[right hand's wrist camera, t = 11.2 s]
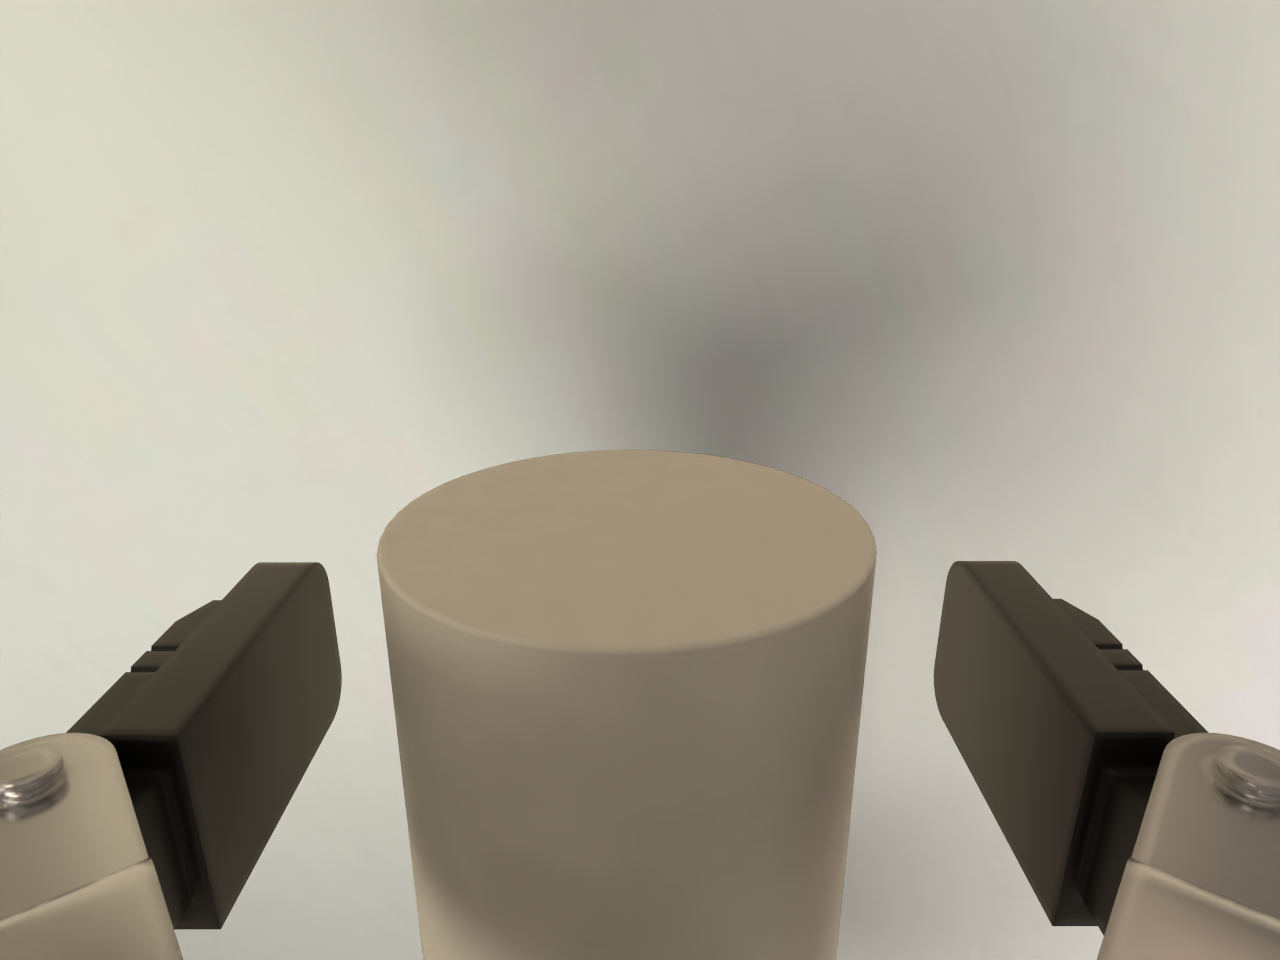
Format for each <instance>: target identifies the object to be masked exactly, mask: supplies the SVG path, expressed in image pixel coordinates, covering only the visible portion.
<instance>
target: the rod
mask: <svg viewBox="0 0 1280 960" xmlns="http://www.w3.org/2000/svg"><path fill="white" fill-rule="evenodd" d="M377 562H378V571H379V579H380V588H381V597H382V605H383V614H384V623H385V631H386V640H387V649H388V657H389V666H390V675H391V683H392V692H393V701H394V709H395V718H396V727H397V735H398V744H399V753H400V761H401V770H402V779H403V787H404V796H405V805H406V813H407V822H408V831H409V839H410V848H411V857H412V865H413V874H414V883H415V891H416V900H417V909H418V917H419V926H420V935H421V943H422V952H423V960H836V954H837V944H838V934H839V924H840V914H841V904H842V894H843V884H844V874H845V864H846V854H847V844H848V834H849V824H850V814H851V804H852V794H853V784H854V774H855V764H856V754H857V744H858V734H859V724H860V714H861V704H862V694H863V683H864V673H865V663H866V653H867V643H868V633H869V623H870V613H871V603H872V593H873V583H874V573H875V563H876V546H875V540H874V537H873V535H872V532H871V530H870V528H869V526H868V524H867V523H866V521H865V520H864V519H863V518H862V516H861V515H860V514H859V513H858V512H857V511H856V510H855V509H854V508H853V507H852V506H850V505H849V504H848V503H847V502H846V501H844V500H843V499H841V498H840V497H838V496H837V495H835V494H834V493H832V492H830V491H829V490H827V489H825V488H823V487H821V486H819V485H817V484H815V483H813V482H810V481H808V480H805V479H803V478H800V477H798V476H795V475H793V474H789V473H786V472H783V471H780V470H777V469H774V468H770V467H766V466H762V465H758V464H754V463H750V462H746V461H741V460H736V459H731V458H726V457H719V456H712V455H705V454H696V453H686V452H675V451H658V450H603V451H587V452H575V453H566V454H556V455H549V456H543V457H536V458H530V459H525V460H520V461H515V462H510V463H506V464H502V465H498V466H494V467H490V468H487V469H483V470H480V471H477V472H474V473H471V474H468V475H465V476H462V477H459V478H457V479H454V480H452V481H449V482H447V483H444V484H442V485H440V486H438V487H436V488H434V489H432V490H430V491H428V492H426V493H425V494H423V495H421V496H420V497H418V498H417V499H415V500H413V501H412V502H410V503H409V504H408V505H407V506H405V507H404V508H403V509H402V510H401V511H399V512H398V513H397V514H396V515H395V517H394V518H393V519H392V520H391V521H390V522H389V524H388V525H387V526H386V528H385V530H384V532H383V534H382V536H381V538H380V541H379V546H378V551H377Z"/></svg>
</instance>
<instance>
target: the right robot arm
mask: <svg viewBox="0 0 1280 960" xmlns="http://www.w3.org/2000/svg"><path fill="white" fill-rule="evenodd" d="M151 647H152V649H151V651H146V652H145V653H144V654H143V655H142V656H141V657H140V658H139V659H138V660H137V661H136V662H135V663H134V664H133V665H132V667H131V672H126V673H125V674H124V675H123V676H122V677H121V678H120V679H119V680H118V681H117V682H116V683H115V684H114V685H113V686H112V687H111V688H110V689H109V690H108V691H107V692H106V693H105V694H104V695H103V696H102V697H101V698H100V699H99V700H98V701H97V702H96V703H95V704H94V705H93V706H92V707H91V708H90V709H89V710H88V711H87V712H86V713H85V714H84V715H83V716H82V717H81V718H80V719H79V720H78V721H77V722H76V723H75V724H74V725H73V726H72V727H71V728H70V729H69V730H68V732H67V733H62V734H54V735H48V736H43V737H38V738H34V739H31V740H27V741H24V742H21V743H18V744H15V745H12V746H10V747H7V748H5V749H2V750H0V960H183V958H182V954H181V951H180V948H179V945H178V941H177V938H176V935H175V932H174V929H221V928H222V926H223V924H224V922H225V920H226V918H227V917H228V915H229V913H230V911H231V909H232V907H233V905H234V904H235V902H236V900H237V898H238V896H239V894H240V892H241V891H242V889H243V887H244V885H245V883H246V881H247V879H248V878H249V876H250V874H251V872H252V870H253V868H254V866H255V865H256V863H257V861H258V859H259V857H260V855H261V853H262V852H263V850H264V848H265V846H266V844H267V842H268V840H269V839H270V837H271V835H272V833H273V831H274V829H275V827H276V826H277V824H278V822H279V820H280V818H281V816H282V814H283V813H284V811H285V809H286V807H287V805H288V803H289V801H290V800H291V798H292V796H293V794H294V792H295V790H296V788H297V787H298V785H299V783H300V781H301V779H302V777H303V775H304V773H305V772H306V770H307V768H308V766H309V764H310V762H311V760H312V759H313V757H314V755H315V753H316V751H317V749H318V747H319V746H320V744H321V742H322V740H323V738H324V736H325V734H326V733H327V731H328V729H329V727H330V725H331V723H332V721H333V719H334V717H335V715H336V712H337V709H338V705H339V700H340V694H341V681H342V676H341V664H340V657H339V650H338V643H337V636H336V629H335V622H334V615H333V608H332V601H331V594H330V587H329V581H328V577H327V573H326V571H325V569H324V567H323V566H322V565H321V564H320V563H257V564H256V565H254V566H253V567H252V568H251V569H250V571H249V572H248V573H247V574H246V575H245V576H244V577H243V578H242V579H241V580H240V581H239V582H238V583H237V585H236V586H235V587H234V588H233V589H232V590H231V591H230V592H229V593H228V594H227V595H226V596H225V597H224V599H223V600H213V601H211V602H210V603H208V604H206V605H204V606H202V607H201V608H199V609H197V610H195V611H194V612H192V613H190V614H188V615H186V616H185V617H183V618H181V619H179V620H178V621H176V622H175V623H174V624H173V625H172V626H171V627H170V628H169V629H168V630H167V631H166V632H165V633H164V634H163V635H162V636H161V637H160V638H159V639H158V640H157V641H156V642H155V643H154V644H153V645H152V646H151ZM934 688H935V696H936V701H937V705H938V709H939V712H940V715H941V717H942V719H943V721H944V723H945V725H946V727H947V728H948V730H949V732H950V734H951V736H952V738H953V740H954V742H955V744H956V745H957V747H958V749H959V751H960V753H961V755H962V757H963V759H964V760H965V762H966V764H967V766H968V768H969V770H970V772H971V774H972V776H973V777H974V779H975V781H976V783H977V785H978V787H979V789H980V791H981V792H982V794H983V796H984V798H985V800H986V802H987V804H988V806H989V807H990V809H991V811H992V813H993V815H994V817H995V819H996V821H997V823H998V824H999V826H1000V828H1001V830H1002V832H1003V834H1004V836H1005V838H1006V839H1007V841H1008V843H1009V845H1010V847H1011V849H1012V851H1013V853H1014V855H1015V856H1016V858H1017V860H1018V862H1019V864H1020V866H1021V868H1022V870H1023V871H1024V873H1025V875H1026V877H1027V879H1028V881H1029V883H1030V885H1031V887H1032V888H1033V890H1034V892H1035V894H1036V896H1037V898H1038V900H1039V902H1040V903H1041V905H1042V907H1043V909H1044V911H1045V913H1046V915H1047V917H1048V918H1049V920H1050V922H1051V924H1052V926H1099V928H1100V930H1101V931H1102V933H1103V935H1104V938H1103V941H1102V945H1101V948H1100V951H1099V954H1098V958H1097V960H1280V750H1278V749H1275V748H1273V747H1270V746H1268V745H1265V744H1262V743H1259V742H1256V741H1253V740H1249V739H1246V738H1242V737H1237V736H1232V735H1226V734H1218V733H1208V732H1207V731H1206V730H1205V729H1204V728H1203V727H1202V726H1201V724H1200V723H1199V722H1198V721H1197V720H1196V719H1195V718H1194V717H1193V716H1192V715H1191V714H1190V713H1189V712H1188V711H1187V710H1186V709H1185V708H1184V707H1183V706H1182V705H1181V704H1180V703H1179V702H1178V701H1177V700H1176V699H1175V698H1174V697H1173V696H1172V695H1171V694H1170V693H1169V692H1168V691H1167V690H1166V689H1165V688H1164V687H1163V686H1162V685H1161V683H1160V682H1159V681H1158V680H1157V679H1156V678H1155V677H1154V676H1153V675H1152V674H1151V673H1150V672H1149V671H1148V670H1143V668H1142V664H1141V663H1140V662H1139V661H1138V660H1137V659H1136V658H1135V657H1134V656H1133V655H1132V654H1131V653H1130V652H1129V651H1128V650H1127V649H1123V648H1122V644H1121V642H1120V641H1119V640H1118V639H1117V638H1116V637H1115V636H1114V635H1113V634H1112V633H1111V632H1110V631H1109V630H1108V629H1107V628H1106V627H1105V626H1104V625H1103V624H1102V623H1101V622H1100V621H1099V620H1098V619H1096V618H1094V617H1092V616H1091V615H1089V614H1087V613H1085V612H1084V611H1082V610H1080V609H1078V608H1077V607H1075V606H1073V605H1071V604H1069V603H1068V602H1066V601H1064V600H1062V599H1052V598H1051V597H1050V596H1049V595H1048V593H1047V592H1046V591H1045V590H1044V589H1043V588H1042V587H1041V586H1040V585H1039V584H1038V583H1037V581H1036V580H1035V579H1034V578H1033V577H1032V576H1031V575H1030V574H1029V573H1028V572H1027V571H1026V570H1025V568H1024V567H1023V566H1022V565H1021V564H1020V563H1018V562H1016V561H957V562H955V563H953V564H952V566H951V568H950V570H949V573H948V576H947V581H946V588H945V595H944V602H943V609H942V616H941V623H940V630H939V638H938V645H937V652H936V659H935V667H934Z"/></svg>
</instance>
